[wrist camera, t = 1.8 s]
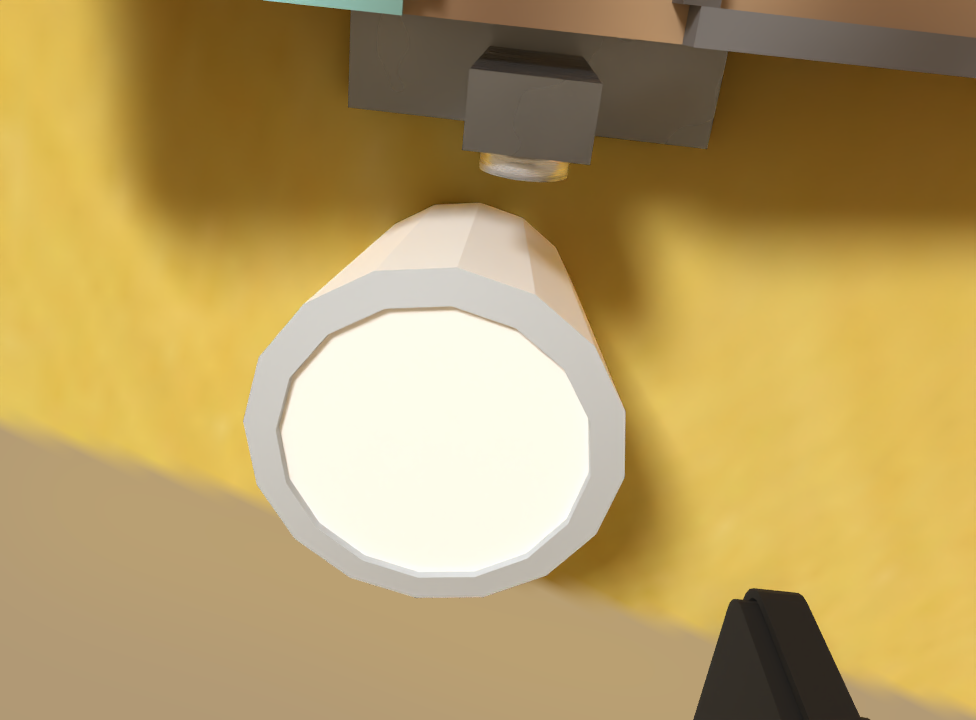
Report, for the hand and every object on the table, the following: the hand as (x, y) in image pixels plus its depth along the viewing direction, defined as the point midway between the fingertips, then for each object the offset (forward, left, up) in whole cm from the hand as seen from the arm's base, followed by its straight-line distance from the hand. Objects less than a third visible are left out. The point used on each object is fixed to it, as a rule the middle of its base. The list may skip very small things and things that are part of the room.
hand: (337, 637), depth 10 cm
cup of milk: (-1, 0, -12) cm, 12 cm away
